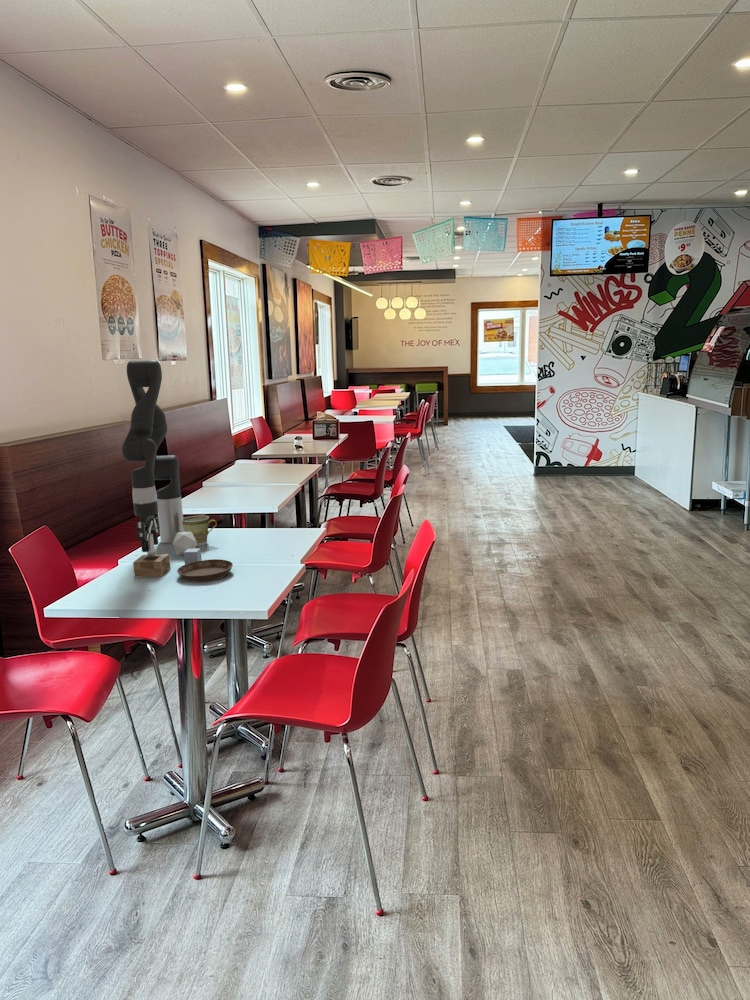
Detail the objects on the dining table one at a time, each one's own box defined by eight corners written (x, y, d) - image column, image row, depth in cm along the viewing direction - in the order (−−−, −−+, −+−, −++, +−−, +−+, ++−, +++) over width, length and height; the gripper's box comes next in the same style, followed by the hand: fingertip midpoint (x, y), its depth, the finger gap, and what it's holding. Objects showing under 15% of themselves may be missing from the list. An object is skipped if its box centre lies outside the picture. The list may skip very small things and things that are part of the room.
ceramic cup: (180, 548, 278) (178, 521, 276) (188, 541, 288) (186, 515, 286) (215, 546, 278) (213, 520, 276) (221, 540, 288) (219, 514, 286)
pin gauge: (150, 568, 249) (146, 533, 247) (157, 568, 249) (153, 533, 247) (148, 570, 247) (144, 535, 245) (155, 570, 247) (151, 535, 244)
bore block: (144, 568, 253) (143, 554, 252) (170, 568, 252) (169, 554, 251) (134, 577, 244) (133, 562, 243) (161, 576, 244) (160, 561, 243)
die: (188, 559, 265) (201, 535, 267) (166, 548, 264) (179, 524, 266) (190, 561, 273) (202, 538, 275) (168, 551, 272) (181, 527, 274)
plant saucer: (178, 587, 232) (177, 577, 232) (177, 571, 249) (176, 562, 249) (236, 580, 237) (235, 570, 236) (230, 565, 254) (230, 556, 253)
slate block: (189, 562, 259) (187, 548, 258) (201, 562, 258) (200, 548, 257) (185, 566, 254) (183, 552, 253) (198, 566, 254) (196, 551, 253)
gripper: (141, 495, 251) (146, 542, 254) (125, 505, 237) (131, 554, 240) (163, 495, 250) (168, 542, 253) (148, 504, 236) (154, 554, 239)
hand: (150, 548), depth 247 cm, fingers open, 8 cm apart
